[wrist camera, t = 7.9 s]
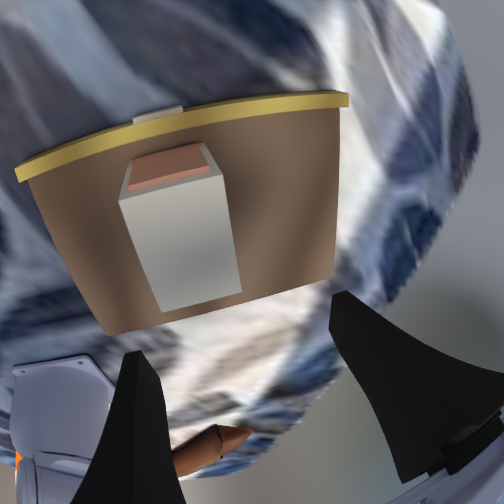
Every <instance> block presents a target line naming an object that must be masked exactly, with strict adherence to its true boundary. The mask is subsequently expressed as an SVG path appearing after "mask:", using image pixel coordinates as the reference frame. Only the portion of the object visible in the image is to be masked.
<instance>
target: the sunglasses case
mask: <svg viewBox="0 0 504 504" xmlns="http://www.w3.org/2000/svg"><path fill="white" fill-rule="evenodd" d="M253 431H254V429H253V428H239V427H230V426H222V425H217V424H216V425H215V427H214V428H211V429H209V430H208V431H207V432H205V433H204V434H202V435H201V436H200V437H198V438H197V439H196V440H195V441H193V442H192V443H191V444H189V445H188V446H187V447H184V448H183V449H181V450H179V451H177V452H176V453H174V454H173V455H172V457H173V462H174V466H175V470H176V473H177V477H182V476H186V475H189V474H192V473H194V472H196V471H198V470H200V469H202V468H204V467H206V466H208V465H211V464H214V463H215V461H217V460H220V459H222V458H223V455H224V454H226V453H228V452H229V451H231V450H232V449H234V448H235V447H237V446H238V445H240V444H241V443H242V442H243V441H244V440H246V439H247V438H248V437H249V436H250V435H251V434H252V433H253Z"/></svg>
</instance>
